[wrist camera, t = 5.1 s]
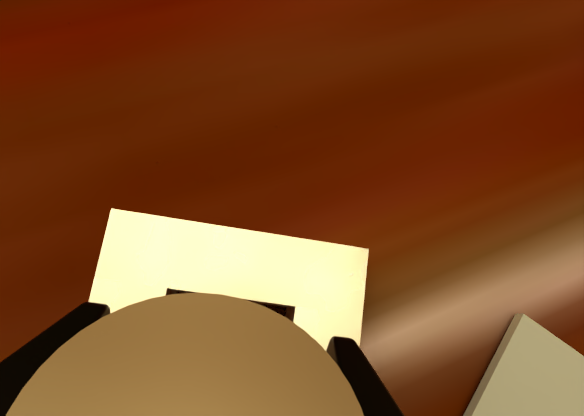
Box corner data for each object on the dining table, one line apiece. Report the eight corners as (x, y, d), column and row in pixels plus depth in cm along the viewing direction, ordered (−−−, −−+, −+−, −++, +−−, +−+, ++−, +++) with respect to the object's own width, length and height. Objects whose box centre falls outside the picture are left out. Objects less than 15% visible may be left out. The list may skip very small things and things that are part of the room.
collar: (324, 500, 18) (341, 537, 15) (71, 475, 17) (37, 508, 14) (349, 257, 20) (368, 249, 17) (129, 223, 19) (111, 208, 17)
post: (271, 444, 14) (358, 748, 4) (143, 429, 13) (-88, 724, 4) (289, 315, 15) (391, 319, 5) (169, 298, 14) (39, 268, 5)
